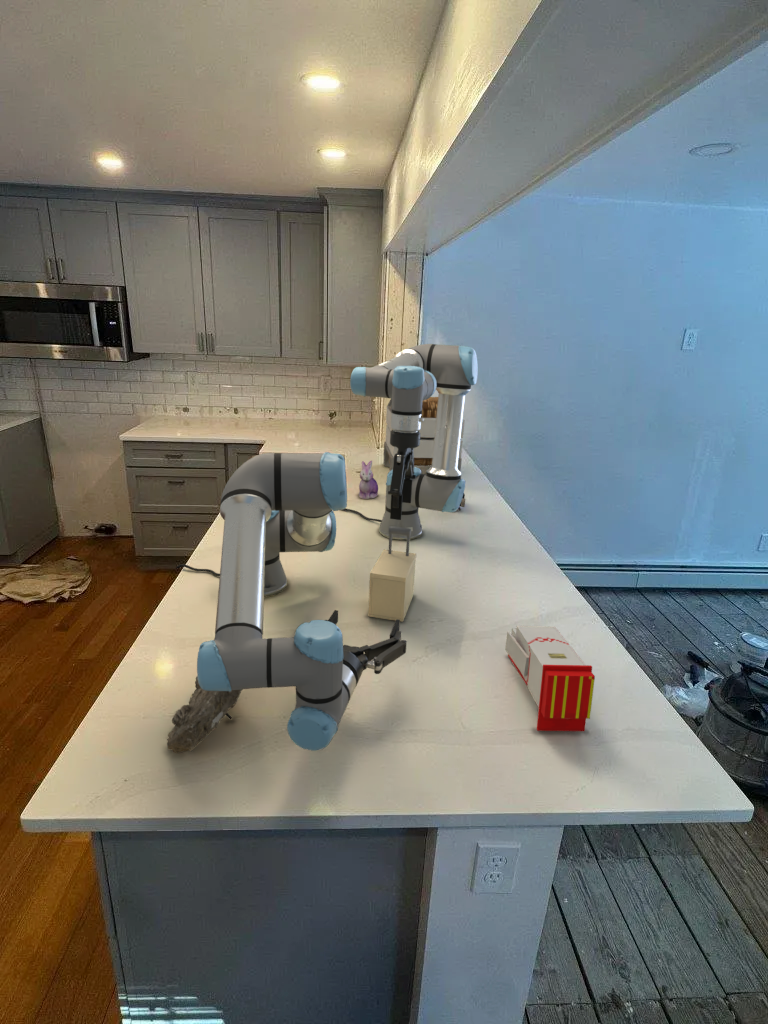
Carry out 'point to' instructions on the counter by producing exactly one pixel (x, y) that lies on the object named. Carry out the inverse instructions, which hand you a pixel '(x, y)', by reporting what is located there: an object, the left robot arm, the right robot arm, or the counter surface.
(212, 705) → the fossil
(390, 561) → the lid
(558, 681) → the toy
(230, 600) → the left robot arm
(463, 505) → the figurine character
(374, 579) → the chest
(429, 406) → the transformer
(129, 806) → the counter surface
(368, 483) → the figurine
